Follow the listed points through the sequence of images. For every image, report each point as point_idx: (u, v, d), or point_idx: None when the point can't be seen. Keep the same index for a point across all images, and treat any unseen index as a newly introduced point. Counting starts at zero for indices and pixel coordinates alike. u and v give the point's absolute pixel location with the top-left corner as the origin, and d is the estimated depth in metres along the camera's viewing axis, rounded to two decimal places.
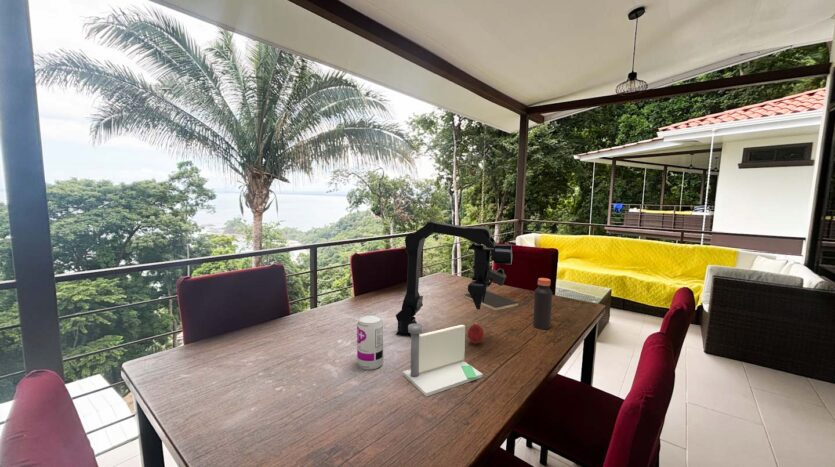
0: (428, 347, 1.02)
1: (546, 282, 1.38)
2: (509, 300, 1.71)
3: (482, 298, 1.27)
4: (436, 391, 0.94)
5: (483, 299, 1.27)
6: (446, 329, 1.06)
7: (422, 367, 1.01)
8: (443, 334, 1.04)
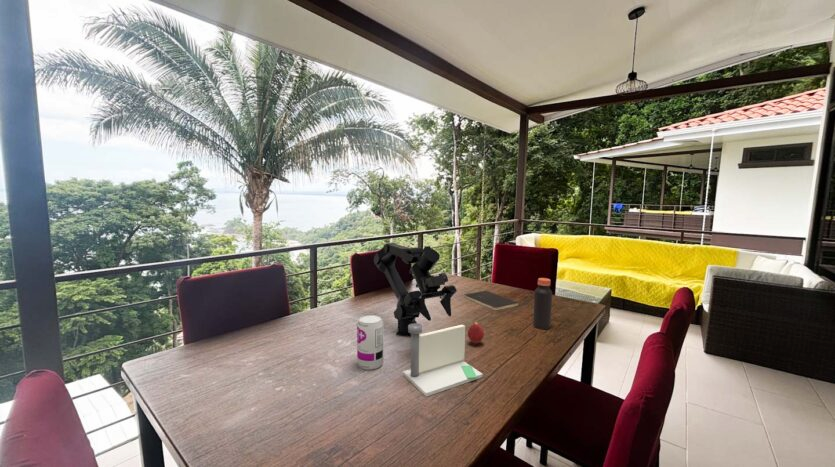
0: (428, 347, 1.02)
1: (546, 282, 1.38)
2: (509, 300, 1.71)
3: (448, 312, 1.16)
4: (436, 391, 0.94)
5: (449, 313, 1.16)
6: (446, 329, 1.06)
7: (422, 367, 1.01)
8: (443, 334, 1.04)
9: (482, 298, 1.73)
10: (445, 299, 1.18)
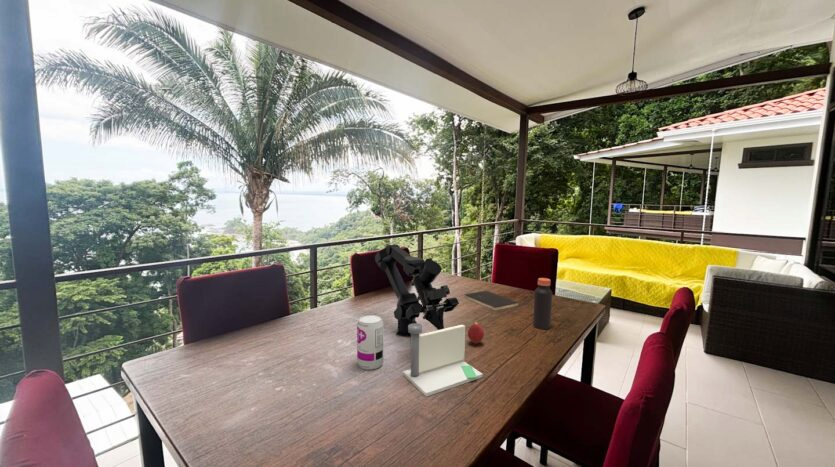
0: (428, 347, 1.02)
1: (546, 282, 1.38)
2: (509, 300, 1.71)
3: None
4: (436, 391, 0.94)
5: None
6: (446, 329, 1.06)
7: (422, 367, 1.01)
8: (443, 334, 1.04)
9: (482, 298, 1.73)
10: (438, 314, 1.15)
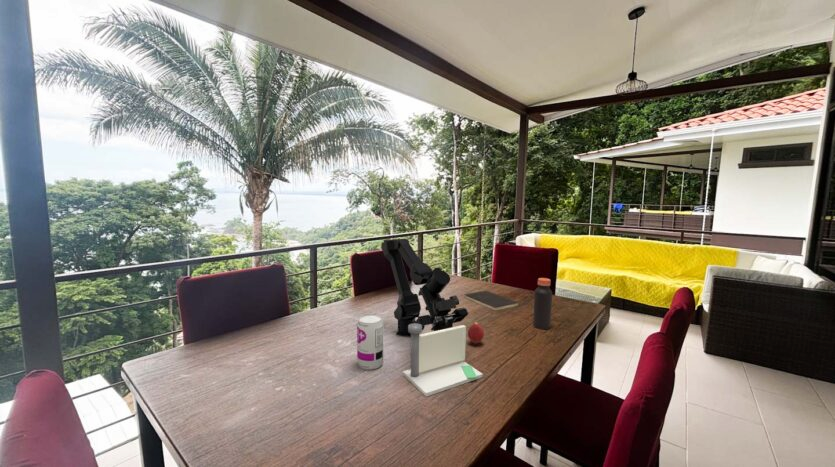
0: (428, 347, 1.02)
1: (546, 282, 1.38)
2: (509, 300, 1.71)
3: None
4: (436, 391, 0.94)
5: None
6: (447, 329, 1.05)
7: (422, 367, 1.01)
8: (443, 334, 1.04)
9: (482, 298, 1.73)
10: (447, 325, 1.11)
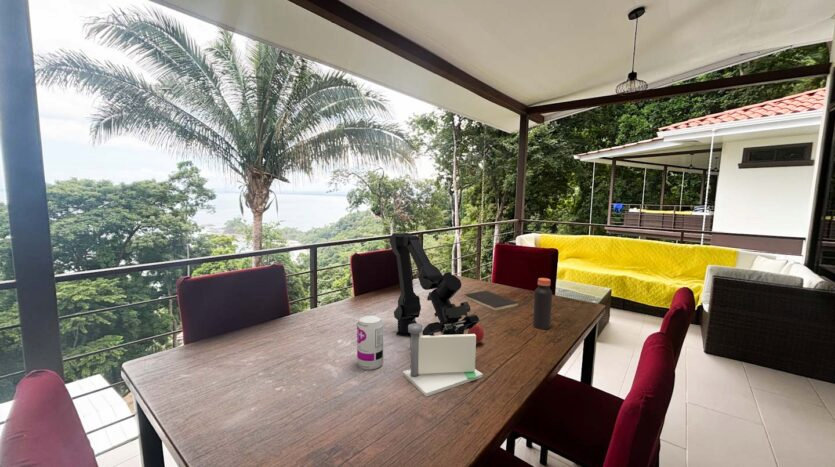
0: (429, 350, 1.00)
1: (546, 282, 1.38)
2: (509, 300, 1.71)
3: None
4: (436, 391, 0.94)
5: None
6: (452, 335, 1.01)
7: (422, 369, 1.00)
8: (448, 340, 1.00)
9: (482, 298, 1.73)
10: (458, 333, 1.06)
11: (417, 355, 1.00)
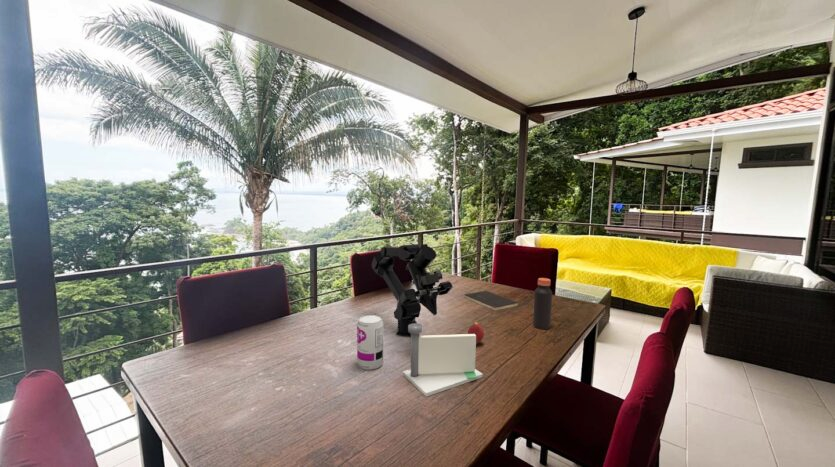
0: (429, 350, 1.00)
1: (546, 282, 1.38)
2: (509, 300, 1.71)
3: None
4: (436, 391, 0.94)
5: None
6: (452, 335, 1.01)
7: (422, 369, 1.00)
8: (448, 340, 1.00)
9: (482, 298, 1.73)
10: (431, 298, 1.19)
11: (417, 355, 1.00)
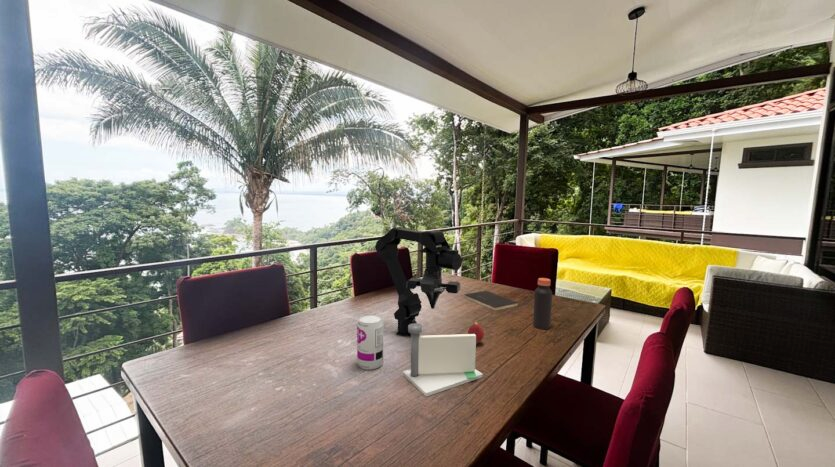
0: (429, 350, 1.00)
1: (546, 282, 1.38)
2: (509, 300, 1.71)
3: None
4: (436, 391, 0.94)
5: None
6: (452, 335, 1.01)
7: (422, 369, 1.00)
8: (448, 340, 1.00)
9: (482, 298, 1.73)
10: None
11: (417, 355, 1.00)
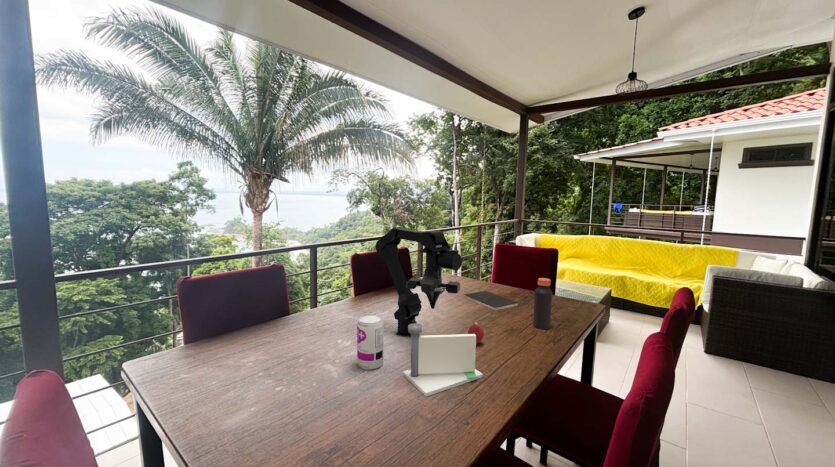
0: (429, 350, 1.00)
1: (546, 282, 1.38)
2: (509, 300, 1.71)
3: None
4: (436, 391, 0.94)
5: None
6: (452, 335, 1.01)
7: (422, 369, 1.00)
8: (448, 340, 1.00)
9: (482, 298, 1.73)
10: None
11: (417, 355, 1.00)
